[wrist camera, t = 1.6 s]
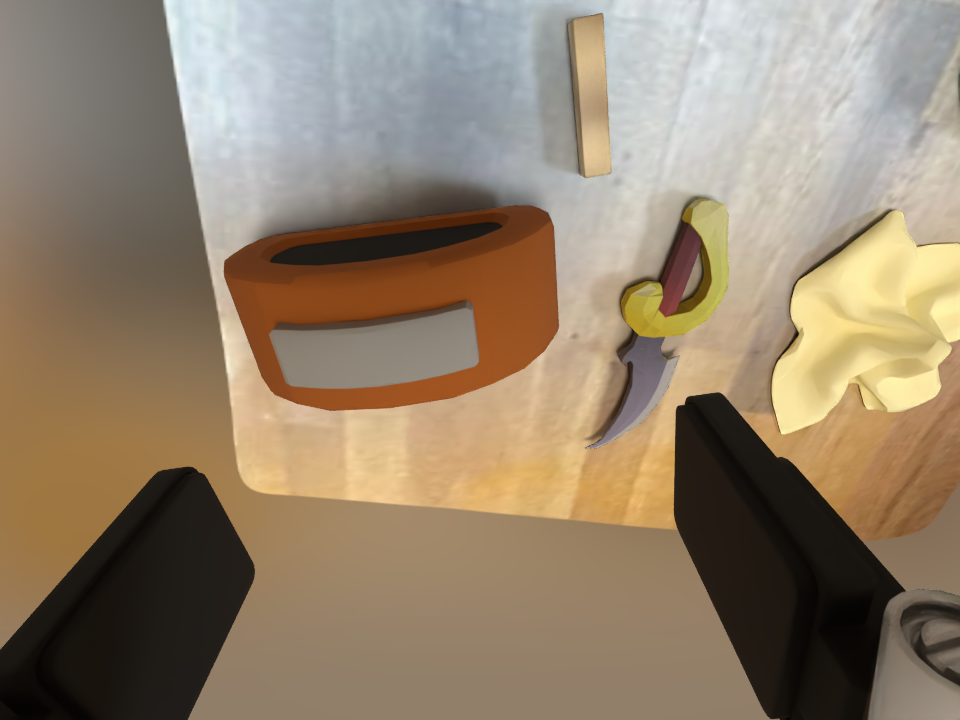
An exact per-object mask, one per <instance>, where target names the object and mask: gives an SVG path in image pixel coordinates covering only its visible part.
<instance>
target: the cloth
mask: <svg viewBox="0 0 960 720" xmlns="http://www.w3.org/2000/svg"><path fill="white" fill-rule="evenodd" d="M904 217H905V216H904V215H903V213H902V212H900V211H897V210H894V211H891V212H890V213H888V214H887V215H886V216H885V217H884V218H883V219H882V220H881V221H879V222H878V223H877V224H875V225H874V226H873V227H871V228H870V229H869V230H868V231H866V232H865V233H864V234H862V235H861V236H860V237H858V238H857V239H856V240H854V241H853V242H852V243H850V244H849V245H848V246H847V247H846V248H844V249H843V250H842V251H841V252H840V253H838V254H837V255H835V256H834V257H832V258H831V259H829V260H828V261H826V262H825V263H823V264H822V265H821V266H819V267H818V268H816V269H815V270H813V271H812V272H810V273H809V274H807V275H806V276H804V277H803V278H801V279H800V280H798V282H797V284H796V286H795V289H794V293H793V296H792V299H791V306H790V313H791V318H792V321H793V323H794V325H795V326H796V328H797V330H798V332H799V336H798V337H797V338H796V340H795V341H794V342H793V343H792V345H791V346H790V347H789V348H788V350H787V351H786V352H785V353H784V354H783V355H782V357H781V358H780V359H779V361H778V362H777V364H776V366H775V369H774V372H773V377H772V387H771V395H772V403H773V407H774V411H775V414H776V418H777V422H778V426H779V429H780V433H781V434H783V435H784V434H788V433H791V432H794V431H796V430H799V429H802V428H804V427H807V426H809V425H812V424H814V423H816V422H819V421H820V420H822V419H823V418H824V417H826V415H827V414H828V411H830V410H831V409H832V408H833V407H834V406H835V405H837V404H838V403H839V401H840V399H841V398H842V396H843V394H844V392H845V391H846V389H847V386H848V384H850V383H857V384H858V385H859V389H860V392H861V395H862V399H863V404H864V405H865V407H866V408H867V409H869V410H872V409H878V410H883V411H887V412H899V411H904V410H907V409H909V408H912V407H915V406H918V405H920V404H922V403H924V402H926V401H928V400H931V399H933V398H934V397H935V396H936V395H937V394H938V393H939V389H940V388H941V383H940V379H939V371H938V365H939V364H940V363H941V362H942V361H943V360H944V359H945V358H946V357H947V356H948V355H949V354H950V352H951V350H952V347H951V346H950V344H949V342H953V341H957V340H960V244H958V243H946V244H931V245H924V246H919V247H916V243H915V242H914V240H913V239H912V238H911V237H910V235H909V234H908V233H907V229H906V226H905V222H904Z"/></svg>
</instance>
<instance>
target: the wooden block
mask: <svg viewBox="0 0 960 720" xmlns="http://www.w3.org/2000/svg"><path fill="white" fill-rule="evenodd" d="M568 30H569V43H570V55H571V68H572V80H573V93H574V106H575V118H576V131H577V143H578V156H579V168H580V175H581V176H583V177H584V178H589V177H595V176H600V175H605V174H610V173H611V156H610V136H609V117H608V98H607V78H606V59H605V40H604V21H603V13H600V14H596V15H591V16H586V17H582V18H577V19H573V20H572V21H571V22H570V23H569V24H568Z"/></svg>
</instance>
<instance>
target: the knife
mask: <svg viewBox="0 0 960 720" xmlns="http://www.w3.org/2000/svg"><path fill="white" fill-rule="evenodd" d="M728 216H729V215H728V212H727V210H726V208H725V206H724V204H722V203H720V202H717V201H714V200H710V199H696V200H695V201H694V202H693V203H692V204H691V205H689V206H688V207H687V209H686V211H685V213H684V215H683V217H682V220H683V221H684V225H683V228H682V230H681V233H680V235H679V238H678V240H677V243H676V245H675V248H674V250H673V253H672V255H671V258H670V260H669V262H668V265H667V267H666V270H665V272H664V275H663V277H662V280H661V282H660V283H659V282H654V281H646V282H643V283H641V284H638V285H636V286H633V287H631V288H629V289H627V290H626V292H625V294H624V296H623V298H622V300H621V308H622V314H623V318H624V320H625V321H626V323H627V324H628V325H629V326H630V327H631V328H632V329H633V330H634V331H635V333H634V336H633V339H632V341H631V343H630V344H629V345H628V346H626V347H625V348H623V349H622V350H621V351H620V353H619V354H618V357H619V359H620V361H621V362H622V363H623V364H624V365H625V366H626V364H625V363H627V362H629V366H630V383H629V385H628V388H627V391H626V394H625V396H624V399H623V402H622V404H621V407H620V409H619V411H618V413H617V414H616V416H615V418H614V420H613V421H612V423H611V425H610V426H609V428H608V429H607V431H606V432H605V434H604V435H603V437H602V438H601V439H599V440H598V441H597V442H596V443H594V444H592V445H590V446H588V447H585V448H598V447H600V446H603V445H605V444H608V443H610V442H612V441H613V440H615V439H617V438H619V437H620V436H622V435H624V434H625V433H627V432H628V431H630V430H632V429H633V428H635V427H636V426H638V425H639V424H641V423H642V422H643V420H644V419H645V418H646V417H647V416H648V415H649V414H650V413H651V412H652V410H653V409H654V408H655V407H656V406H657V405H658V403H659V401H660V400H661V398H662V397H663V395H664V393H665V392H666V390H667V388H668V387H669V384H670V381H671V379H672V376H673V373H674V370H675V368H676V365H677V362H678V359H679V357H680V355H679V356H675V357H672V358H669V359H666V358H665V357H664V356H662V352H661V345H662V343H663V341H664V338H665V337H666V336H675V335H683V334H685V333H687V332H688V331H690V330H691V329H693V328H695V327H696V326H698V325H700V324H701V323H703V322H705V321H706V320H707V319H708V318H709V317H710V315H711V314H712V313H713V312H714V311H715V309H716V308H717V306H718V305H719V303H720V302H721V300H722V299H723V296H724V294H725V292H726V289H727V287H728V276H729V262H728ZM699 250H700V251H701V255H702V260H703V268H704V277H703V280H702V283H701V285H700V288H699V290H698V292H697V293H696V294H695V295H694V296H693V297H692V298H690V299H688V300H686V301H684V302H682V303H679V302H680V300H681V297H682V294H683V292H684V289H685V287H686V284H687V281H688V279H689V276H690V274H691V271H692V268H693V266H694V263H695V260H696V258H697V255H698V253H699Z"/></svg>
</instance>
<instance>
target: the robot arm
mask: <svg viewBox="0 0 960 720" xmlns="http://www.w3.org/2000/svg"><path fill="white" fill-rule="evenodd" d="M674 517H675V522H676V525H677V528H678V531H679V533H680V535H681V537H682V539H683V542H684V544H685V546H686V548H687V550H688V552H689V554H690V556H691V558H692V561H693V563H694V565H695V567H696V569H697V571H698V573H699V575H700V577H701V579H702V581H703V584H704V586H705V587H706V590H707V592H708V594H709V596H710V599H711V601H712V603H713V605H714V607H715V609H716V611H717V613H718V615H719V617H720V620H721V622H722V624H723V626H724V628H725V630H726V632H727V635H728V637H729V638H730V641H731V643H732V645H733V647H734V649H735V651H736V654H737V656H738V657H739V659H740V662H741V664H742V666H743V668H744V670H745V672H746V675H747V677H748V679H749V681H750V683H751V685H752V687H753V689H754V692H755V693H756V696H757V698H758V700H759V702H760V704H761V706H762V708H763V710H764V711H765V713H766V714H767V716H768V717H769V718H770V719H778V718H779V719H780V720H960V596H959V595H955V594H951V593H947V592H944V591H937V590H925V589H916V590H911V591H905V589H904V588H903V587H902V586H901V585H900V584H899V583H898V582H897V580H896V579H895V578H894V577H893V576H892V575H891V574H890V573H889V571H888V570H887V569H886V568H885V567H884V566H883V565H882V564H881V562H880V561H879V560H878V559H877V558H876V557H875V556H874V554H873V553H872V552H871V551H870V550H869V549H868V548H867V547H866V545H865V544H864V543H863V542H862V541H861V540H860V539H859V537H858V536H857V535H856V534H855V533H854V532H853V531H852V530H851V528H850V527H849V526H848V525H847V524H846V523H845V522H844V521H843V519H842V518H841V517H840V516H839V515H838V514H837V513H836V511H835V510H834V509H833V508H832V507H831V506H830V505H829V504H828V502H827V501H826V500H825V499H824V498H823V497H822V496H821V495H820V493H819V492H818V491H817V490H816V489H815V488H814V487H813V485H812V484H811V483H810V482H809V481H808V480H807V479H806V478H805V476H804V475H803V474H802V473H801V472H800V471H799V470H798V469H797V467H796V466H795V465H794V464H793V463H791V462H790V461H789V460H788V459H785V458H783V457H778V458H777V457H776V456H775V455H774V454H773V452H772V451H771V450H770V449H769V448H768V447H767V445H766V444H765V443H764V442H763V441H762V440H761V438H760V437H759V436H758V435H757V434H756V433H755V431H754V430H753V429H752V428H751V427H750V426H749V424H748V423H747V422H746V421H745V420H744V418H743V417H742V416H741V415H740V414H739V413H738V411H737V410H736V409H735V408H734V407H733V406H732V404H731V403H730V402H729V401H728V400H727V399H726V397H725V396H724V395H723V394H721V393H718V392H717V393H710V394H703V395H696V396H689V397H687V398H686V401H685V405H680V406H678V407H677V409H676V430H675V478H674ZM254 575H255V569H254V564H253V562H252V560H251V558H250V556H249V554H248V552H247V551H246V549H245V547H244V545H243V544H242V541H241V540H240V538H239V536H238V534H237V533H236V531H235V529H234V527H233V525H232V523H231V522H230V520H229V518H228V516H227V514H226V512H225V511H224V509H223V507H222V505H221V503H220V501H219V499H218V498H217V496H216V494H215V492H214V490H213V488H212V487H211V485H210V483H209V481H208V479H207V478H206V476H205V475H204V474H202V473H199V472H198V471H197V470H196V469H194V468H193V467H183V468H175V469H168V470H162V471H159V472H157V473H156V474H155V475H154V476H153V477H152V478H151V479H150V480H149V481H148V483H147V484H146V485H145V486H144V487H143V489H141V491H140V492H139V493H138V494H137V495H136V496H135V497H134V499H133V500H132V501H131V502H130V503H129V504H128V505H127V506H126V508H125V509H124V510H123V511H122V512H121V513H120V514H119V516H118V517H117V518H116V519H115V520H114V521H113V522H112V524H111V525H110V526H109V527H108V528H107V529H106V530H105V531H104V533H103V534H102V535H101V536H100V537H99V538H98V539H97V541H96V542H95V543H94V544H93V545H92V546H91V547H90V548H89V550H88V551H87V552H86V553H85V554H84V555H83V556H82V558H81V559H80V560H79V561H78V562H77V563H76V564H75V565H74V567H73V568H72V569H71V570H70V571H69V572H68V573H67V575H66V576H65V577H64V578H63V579H62V580H61V581H60V583H59V584H58V585H57V586H56V587H55V588H54V589H53V590H52V592H51V593H50V594H49V595H48V596H47V597H46V598H45V600H44V601H43V602H42V603H41V604H40V605H39V607H38V608H37V609H36V610H35V611H34V612H33V613H32V614H31V615H30V617H29V618H28V619H27V620H26V621H25V622H24V623H23V625H22V626H21V627H20V628H19V629H18V630H17V631H16V633H15V634H14V635H13V636H12V637H11V638H10V639H9V640H8V642H7V643H6V644H5V645H4V646H3V647H2V649H1V650H0V720H188V718H189V716H190V714H191V711H192V709H193V707H194V705H195V703H196V701H197V699H198V697H199V694H200V692H201V690H202V688H203V686H204V684H205V682H206V680H207V677H208V676H209V673H210V671H211V669H212V667H213V665H214V663H215V661H216V659H217V657H218V654H219V652H220V650H221V648H222V646H223V644H224V642H225V640H226V637H227V635H228V633H229V631H230V629H231V627H232V625H233V623H234V621H235V619H236V616H237V614H238V612H239V610H240V608H241V606H242V604H243V601H244V600H245V598H246V595H247V593H248V591H249V589H250V587H251V585H252V583H253V580H254Z"/></svg>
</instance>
